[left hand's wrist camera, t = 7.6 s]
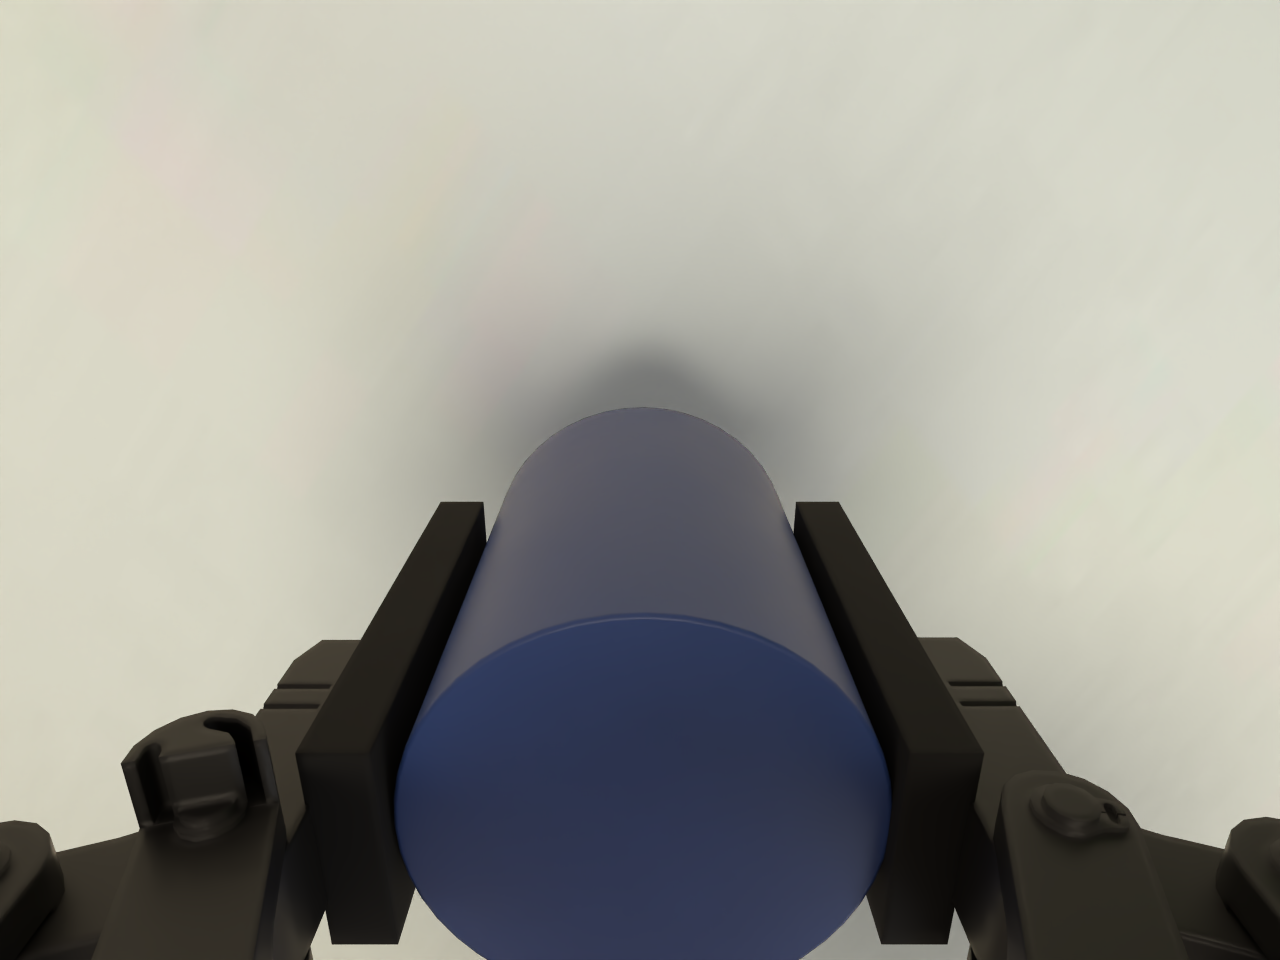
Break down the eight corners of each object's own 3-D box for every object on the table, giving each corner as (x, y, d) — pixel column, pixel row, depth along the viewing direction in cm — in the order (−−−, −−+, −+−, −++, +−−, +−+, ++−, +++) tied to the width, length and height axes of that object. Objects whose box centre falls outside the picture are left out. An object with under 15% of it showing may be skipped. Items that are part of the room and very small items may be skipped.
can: (459, 445, 15) (313, 679, 8) (754, 375, 14) (853, 560, 8) (545, 688, 17) (483, 1036, 10) (806, 633, 16) (922, 961, 10)
